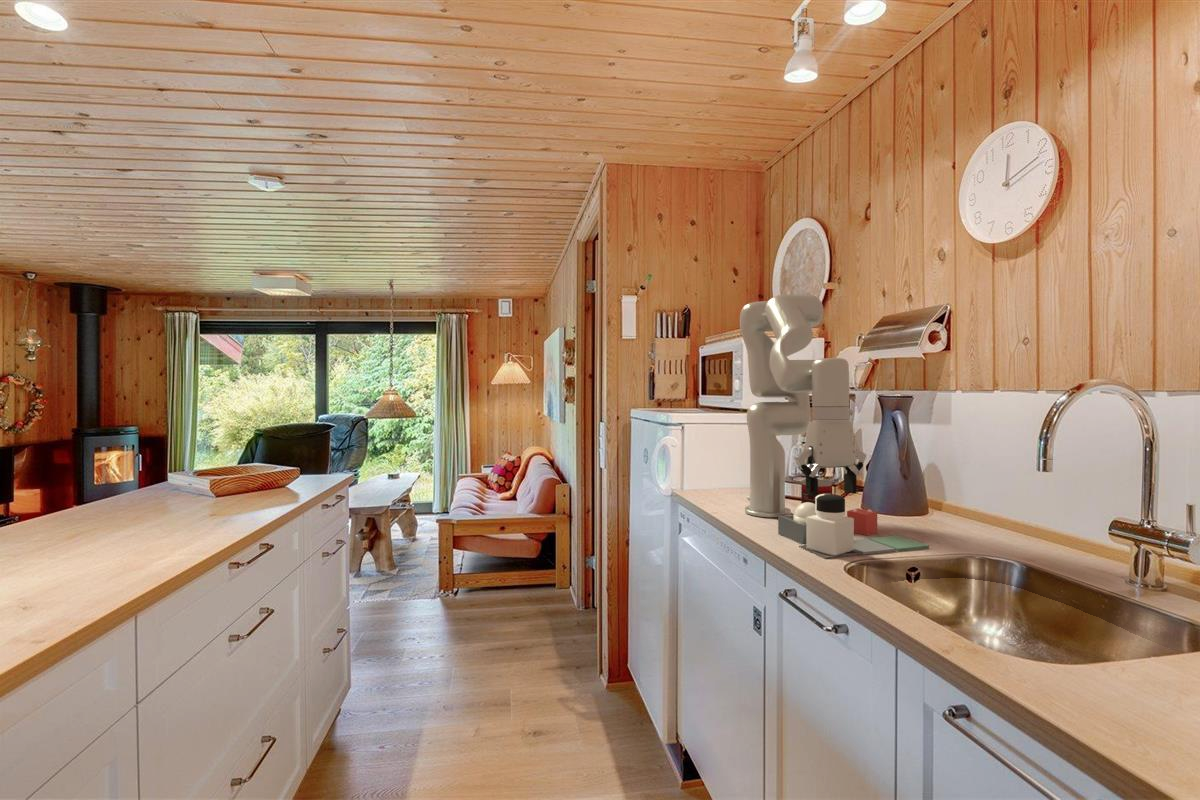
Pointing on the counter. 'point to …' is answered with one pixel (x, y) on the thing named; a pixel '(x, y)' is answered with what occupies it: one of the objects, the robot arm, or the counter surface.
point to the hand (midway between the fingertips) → (831, 493)
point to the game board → (878, 546)
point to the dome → (804, 512)
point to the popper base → (792, 529)
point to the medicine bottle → (830, 526)
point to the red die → (863, 521)
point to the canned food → (823, 488)
